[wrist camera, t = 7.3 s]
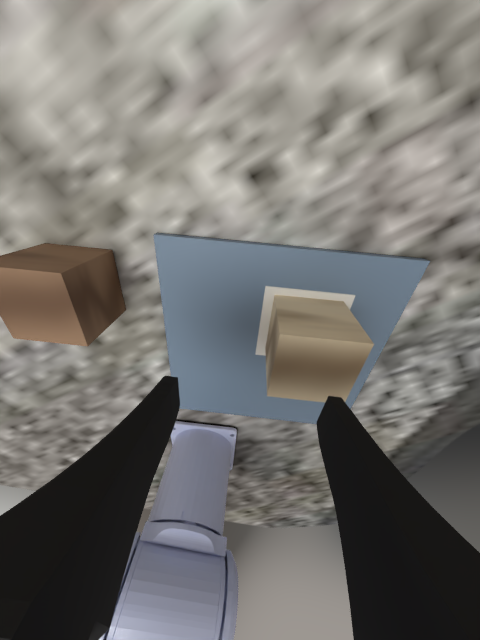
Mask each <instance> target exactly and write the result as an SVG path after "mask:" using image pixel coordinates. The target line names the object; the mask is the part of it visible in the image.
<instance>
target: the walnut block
mask: <svg viewBox="0 0 480 640" xmlns="http://www.w3.org/2000/svg"><path fill="white" fill-rule="evenodd" d="M125 310H126V308H125V303H124V299H123V295H122V290H121V286H120V281H119V277H118V273H117V268H116V264H115V259H114V255H113V251H112V250H108V249H98V248H88V247H78V246H68V245H58V244H48V243H44V244H41V245H37V246H34V247H30V248H27V249H23V250H19V251H16V252H12V253H9V254H5V255H2V256H0V316H1V317H2V319H3V321H4V323H5V324H6V326H7V328H8V329H9V331H10V333H11V335H12V336H13V338H16V339H25V340H34V341H44V342H53V343H62V344H72V345H81V346H89V345H90V344H91V343H92V342H93V341H94V340H95V339H96V338H97V337H98V336H99V335H100V334H101V333H102V332H103V331H104V330H105V329H106V328H107V327H109V326H110V325H111V324H112V323H113V322H114V321H115V320H116V319H117V318H118V317H119V316H120V315H121V314H122V313H123V312H124V311H125Z"/></svg>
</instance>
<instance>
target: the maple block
mask: <svg viewBox="0 0 480 640" xmlns="http://www.w3.org/2000/svg"><path fill="white" fill-rule="evenodd" d="M373 345H374V343H373V342H372V340H371V339H370V338H369V336H368V335H367V333H366V332H365V331H364V329H363V328H362V326H361V325H360V324H359V322H358V321H357V319H356V318H355V317H354V315H353V314H352V312H351V311H350V310H349V308H348V307H347V305H346V304H345V303H344V301H335V300H324V299H314V298H304V297H294V296H284V295H274V301H273V306H272V312H271V318H270V324H269V330H268V335H267V341H266V347H265V353H266V381H267V396H270V397H279V398H288V399H297V400H306V401H315V402H324V403H325V402H326V400H327V398H328V396H334V397H341V398H342V399H343V400H344V402H345V401H346V399H347V397H348V395H349V393H350V391H351V389H352V387H353V385H354V383H355V381H356V379H357V377H358V375H359V373H360V371H361V369H362V367H363V365H364V363H365V361H366V359H367V357H368V355H369V353H370V351H371V349H372V347H373Z"/></svg>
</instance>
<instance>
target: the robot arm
mask: <svg viewBox="0 0 480 640" xmlns="http://www.w3.org/2000/svg"><path fill="white" fill-rule="evenodd" d="M179 407H180V396H179V384H178V377H171V376H164V377H163V378H162V379H161V381H160V382H159V383H158V384H157V385H156V386H155V387H154V389H153V390H152V391H151V392H150V393H149V394H148V395H147V396H146V397H145V398H144V399H143V401H142V402H141V403H140V404H139V405H138V406H137V407H136V408H135V409H134V410H133V411H132V412H131V413H130V414H129V415H128V416H127V417H126V418H125V419H124V420H123V421H122V422H121V423H120V424H119V425H117V426H116V427H115V428H114V429H113V430H112V431H111V432H110V433H109V434H108V435H107V436H106V437H104V438H103V439H102V440H101V441H100V442H99V443H98V444H96V445H95V446H94V447H93V448H92V449H91V450H89V451H88V452H87V453H86V454H85V455H83V456H82V457H81V458H80V459H78V460H77V461H76V462H74V463H73V464H72V465H71V466H69V467H68V468H67V469H66V470H64V471H63V472H62V473H60V474H59V475H58V476H56V477H55V478H54V479H52V480H51V481H50V482H48V483H47V484H45V485H44V486H43V487H41V488H40V489H38V490H37V491H36V492H34V493H33V494H31V495H30V496H29V497H27V498H26V499H24V500H23V501H21V502H20V503H19V504H17V505H16V506H14V507H13V508H11V509H10V510H9V511H7V512H5V513H4V514H3V515H1V516H0V640H234V634H235V627H236V618H237V605H238V573H237V566H236V563H235V561H234V558H233V555H232V552H231V551H230V550H227V549H226V543H227V538H226V537H223V536H222V535H223V526H224V516H225V507H226V497H227V488H228V478H229V470H232V468H233V460H234V451H235V443H236V435H237V430H236V429H235V428H232V427H223V426H215V425H206V424H198V423H189V422H181V421H176V418H177V415H178V411H179ZM317 430H318V438H319V444H320V449H321V453H322V457H323V461H324V465H325V469H326V473H327V476H328V480H329V484H330V488H331V492H332V496H333V500H334V504H335V509H336V514H337V520H338V526H339V532H340V537H341V544H342V550H343V557H344V563H345V570H346V578H347V585H348V593H349V600H350V608H351V617H352V627H353V636H354V640H480V553H479V552H478V551H477V550H476V549H475V548H474V547H473V546H472V545H471V544H470V543H469V542H467V541H466V540H465V539H464V538H463V537H462V536H461V535H460V534H459V533H458V532H457V531H456V530H455V529H454V528H453V527H452V526H451V525H450V524H449V523H448V522H447V521H446V520H445V519H444V518H443V517H442V516H441V515H440V514H439V513H437V511H436V510H435V509H434V508H432V506H431V505H430V504H429V503H428V502H427V501H426V500H425V499H424V498H423V497H422V496H421V495H420V494H419V493H418V491H416V489H415V488H414V487H413V486H412V485H411V484H410V483H409V482H408V481H407V480H406V478H405V477H404V476H403V475H402V474H401V473H400V472H399V470H398V469H397V468H396V467H395V466H394V465H393V463H392V462H391V461H390V460H389V459H388V458H387V456H386V455H385V454H384V453H383V451H382V450H381V449H380V448H379V446H378V445H377V444H376V443H375V441H374V440H373V439H372V438H371V436H370V435H369V434H368V432H367V431H366V430H365V428H364V427H363V426H362V424H361V423H360V422H359V420H358V419H357V418H356V416H355V415H354V414H353V412H352V411H351V410H350V408H349V407H348V406H347V404H346V403H345V402H344V400H343V399H342V398H341V397H334V396H328V398H327V400H326V402H325V404H324V407H323V409H322V411H321V413H320V415H319V417H318V420H317ZM170 435H171V440H172V450H171V453H170V456H169V459H168V462H167V465H166V468H165V471H164V474H163V477H162V480H161V483H160V486H159V489H158V492H157V495H156V498H155V501H154V504H153V507H152V510H151V513H150V516H149V519H148V521H146V523H145V525H144V528H143V531H142V534H141V533H140V532H136V531H137V528H138V524H139V521H140V518H141V514H142V511H143V508H144V505H145V502H146V498H147V495H148V492H149V489H150V486H151V483H152V480H153V478H154V475H155V473H156V470H157V468H158V465H159V463H160V460H161V458H162V455H163V453H164V450H165V448H166V445H167V443H168V440H169V438H170ZM140 534H141V537H140Z"/></svg>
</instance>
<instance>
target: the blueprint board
mask: <svg viewBox="0 0 480 640" xmlns="http://www.w3.org/2000/svg"><path fill="white" fill-rule="evenodd" d="M154 242H155V250H156V258H157V266H158V274H159V282H160V290H161V298H162V306H163V314H164V322H165V331H166V339H167V347H168V355H169V363H170V371H171V377H178V384H179V396H180V407H179V408H182V409H191V410H199V411H208V412H217V413H225V414H234V415H243V416H251V417H260V418H269V419H277V420H286V421H295V422H303V423H312V424H317V420H318V417H319V415H320V413H321V411H322V409H323V407H324V404H325V403H324V402H315V401H306V400H297V399H288V398H279V397H270V396H267V381H266V353H265V347H266V341H267V335H268V330H269V324H270V318H271V312H272V306H273V301H274V295H284V296H294V297H304V298H314V299H324V300H335V301H344V303H345V304H346V305H347V307H348V308H349V310H350V311H351V312H352V314H353V315H354V317H355V318H356V319H357V321H358V322H359V324H360V325H361V326H362V328H363V329H364V331H365V332H366V333H367V335H368V336H369V338H370V339H371V340H372V342H373V343H374V345H373V347H372V349H371V351H370V353H369V355H368V357H367V359H366V361H365V363H364V365H363V367H362V369H361V371H360V373H359V375H358V377H357V379H356V381H355V383H354V385H353V387H352V389H351V391H350V393H349V395H348V397H347V399H346V401H345V403H346V404H347V406H348V407H349V408H350V409H351V407H352V405H353V403H354V401H355V400H356V398H357V396H358V394H359V392H360V390H361V388H362V387H363V385H364V383H365V381H366V379H367V377H368V376H369V374H370V372H371V370H372V368H373V366H374V364H375V363H376V361H377V359H378V357H379V355H380V353H381V351H382V350H383V348H384V346H385V344H386V342H387V340H388V338H389V337H390V335H391V333H392V331H393V329H394V327H395V325H396V324H397V322H398V320H399V318H400V316H401V314H402V312H403V311H404V309H405V307H406V305H407V303H408V301H409V300H410V298H411V296H412V294H413V292H414V290H415V288H416V287H417V285H418V283H419V281H420V279H421V277H422V275H423V274H424V272H425V270H426V268H427V266H428V264H429V262H430V261H428V260H426V259H422V258H412V257H402V256H391V255H381V254H371V253H360V252H350V251H340V250H329V249H319V248H309V247H298V246H288V245H278V244H267V243H257V242H247V241H236V240H226V239H216V238H205V237H195V236H185V235H174V234H164V233H156V234H154Z"/></svg>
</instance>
